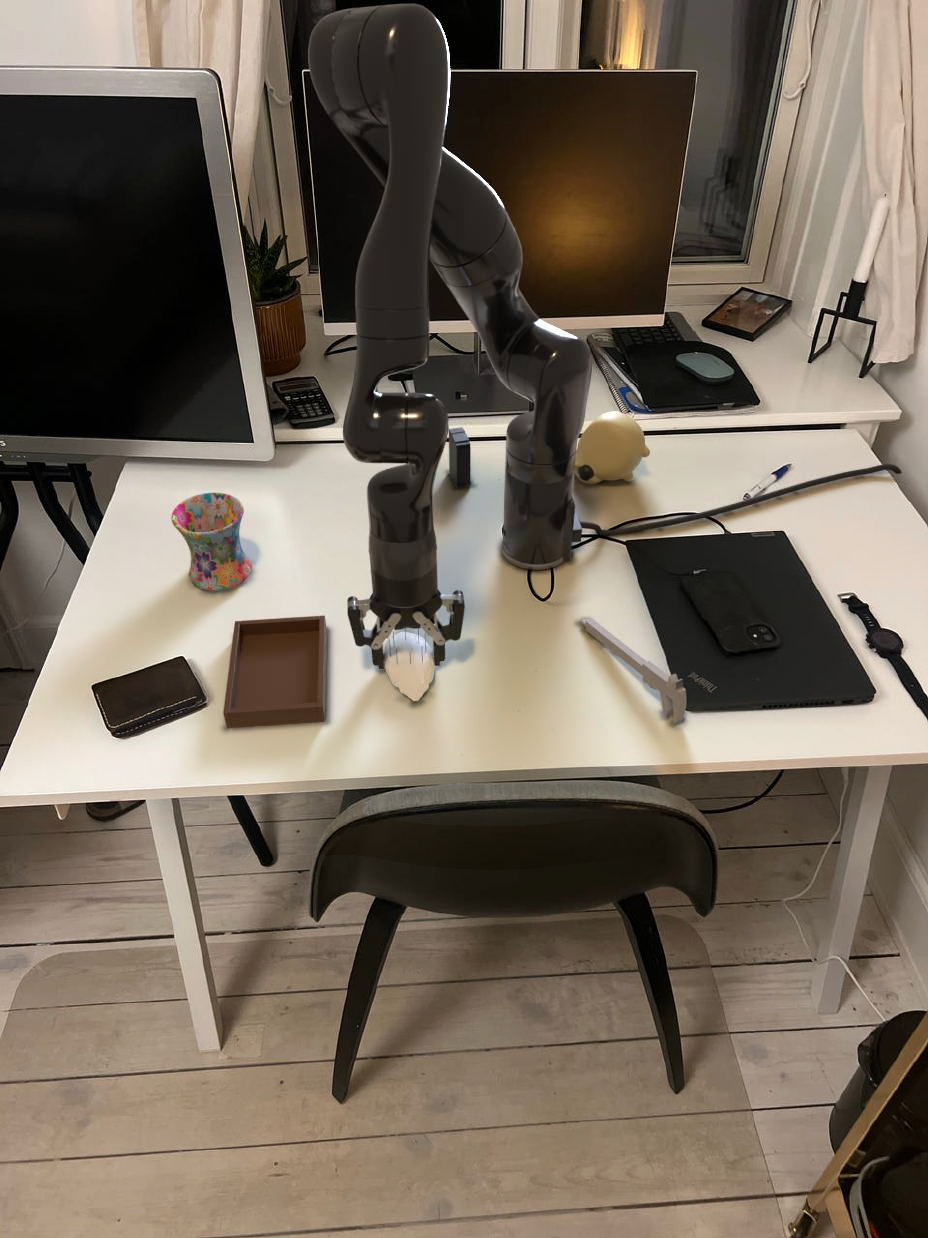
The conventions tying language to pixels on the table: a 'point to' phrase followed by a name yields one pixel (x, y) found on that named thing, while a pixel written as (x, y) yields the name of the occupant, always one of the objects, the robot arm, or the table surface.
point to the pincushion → (409, 663)
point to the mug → (213, 539)
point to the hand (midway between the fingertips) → (409, 662)
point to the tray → (277, 672)
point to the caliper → (645, 671)
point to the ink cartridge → (459, 457)
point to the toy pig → (610, 449)
